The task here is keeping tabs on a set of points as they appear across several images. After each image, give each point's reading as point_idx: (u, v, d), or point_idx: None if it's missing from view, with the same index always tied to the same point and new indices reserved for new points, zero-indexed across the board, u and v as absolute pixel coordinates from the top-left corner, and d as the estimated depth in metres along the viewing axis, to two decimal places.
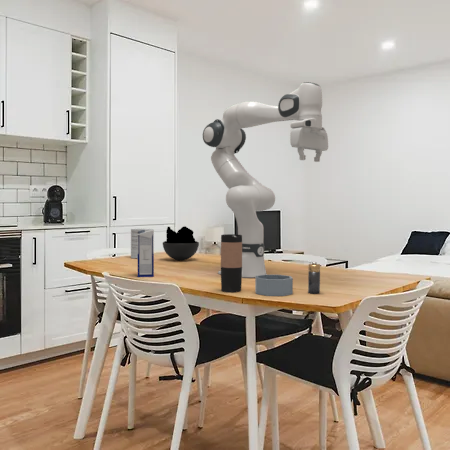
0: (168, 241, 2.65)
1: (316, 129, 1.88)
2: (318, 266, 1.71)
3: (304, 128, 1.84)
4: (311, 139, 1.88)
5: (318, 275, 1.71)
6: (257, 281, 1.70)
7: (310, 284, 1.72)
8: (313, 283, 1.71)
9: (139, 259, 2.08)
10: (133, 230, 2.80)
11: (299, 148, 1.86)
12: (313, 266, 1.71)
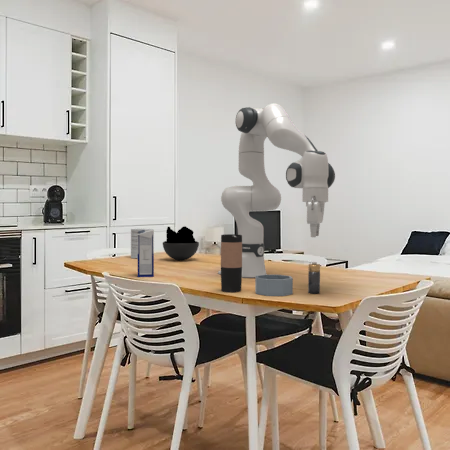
0: (168, 241, 2.65)
1: None
2: (318, 266, 1.71)
3: None
4: None
5: (318, 275, 1.71)
6: (257, 281, 1.70)
7: (310, 284, 1.72)
8: (313, 283, 1.71)
9: (139, 259, 2.08)
10: (133, 230, 2.80)
11: None
12: (313, 266, 1.71)
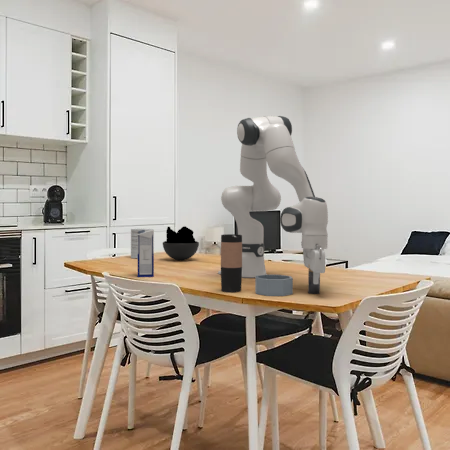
0: (168, 241, 2.65)
1: (305, 249, 1.73)
2: None
3: (303, 248, 1.80)
4: (308, 259, 1.74)
5: None
6: (257, 281, 1.70)
7: (310, 284, 1.72)
8: None
9: (139, 259, 2.08)
10: (133, 230, 2.80)
11: None
12: None
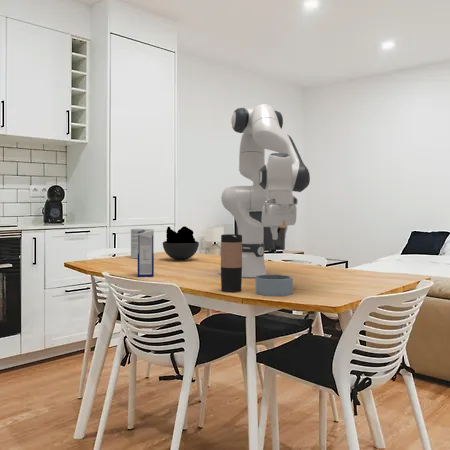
0: (168, 241, 2.65)
1: None
2: None
3: None
4: None
5: (280, 231, 1.70)
6: (257, 281, 1.70)
7: (273, 240, 1.72)
8: None
9: (139, 259, 2.08)
10: (133, 230, 2.80)
11: None
12: None
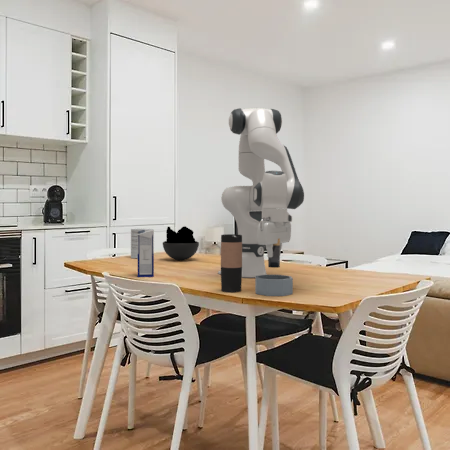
0: (168, 241, 2.65)
1: None
2: None
3: None
4: None
5: (275, 249, 1.70)
6: (257, 281, 1.70)
7: (268, 257, 1.72)
8: None
9: (139, 259, 2.08)
10: (133, 230, 2.80)
11: None
12: None
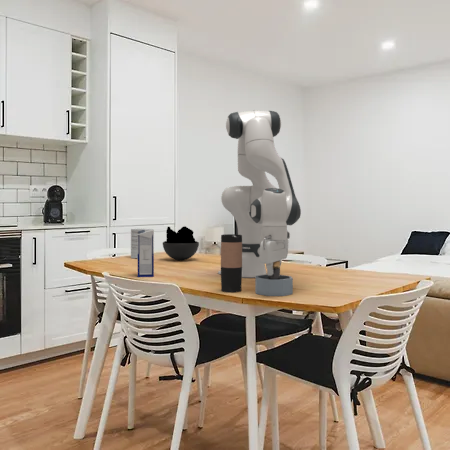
0: (168, 241, 2.65)
1: None
2: (276, 263, 1.72)
3: None
4: None
5: (276, 272, 1.72)
6: (257, 281, 1.70)
7: None
8: None
9: (139, 259, 2.08)
10: (133, 230, 2.80)
11: None
12: None
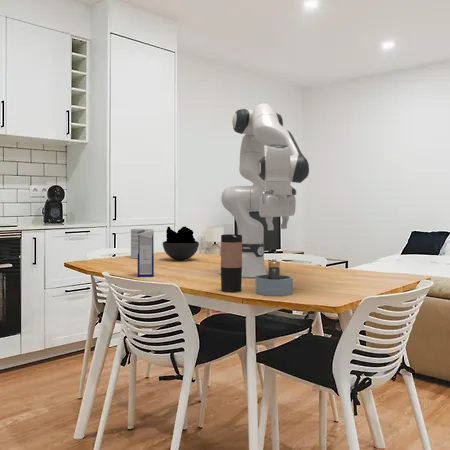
0: (168, 241, 2.65)
1: None
2: (275, 263, 1.71)
3: None
4: None
5: (275, 272, 1.71)
6: (257, 281, 1.70)
7: None
8: None
9: (139, 259, 2.08)
10: (133, 230, 2.80)
11: None
12: (270, 263, 1.72)
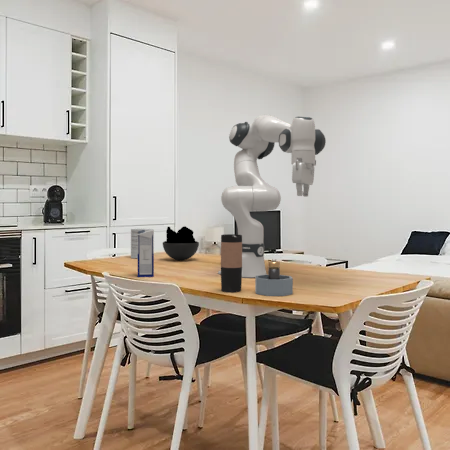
0: (168, 241, 2.65)
1: None
2: (275, 263, 1.71)
3: None
4: None
5: (275, 272, 1.71)
6: (257, 281, 1.70)
7: None
8: None
9: (139, 259, 2.08)
10: (133, 230, 2.80)
11: None
12: (270, 263, 1.72)
